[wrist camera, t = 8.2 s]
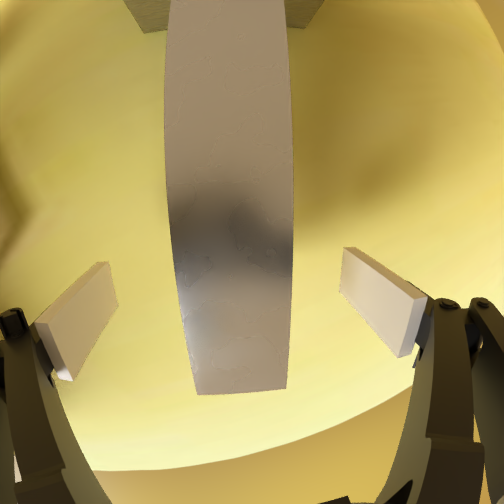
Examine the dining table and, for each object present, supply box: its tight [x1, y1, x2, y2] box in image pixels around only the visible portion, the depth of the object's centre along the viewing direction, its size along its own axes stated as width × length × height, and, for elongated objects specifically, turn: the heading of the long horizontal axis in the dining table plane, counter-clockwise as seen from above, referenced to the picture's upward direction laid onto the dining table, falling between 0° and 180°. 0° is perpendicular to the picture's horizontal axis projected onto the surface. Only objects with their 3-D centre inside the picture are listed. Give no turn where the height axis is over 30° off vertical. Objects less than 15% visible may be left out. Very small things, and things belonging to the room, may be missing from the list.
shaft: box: [164, 0, 293, 395], centre depth 9 cm, size 26×4×4 cm, turn 1°
